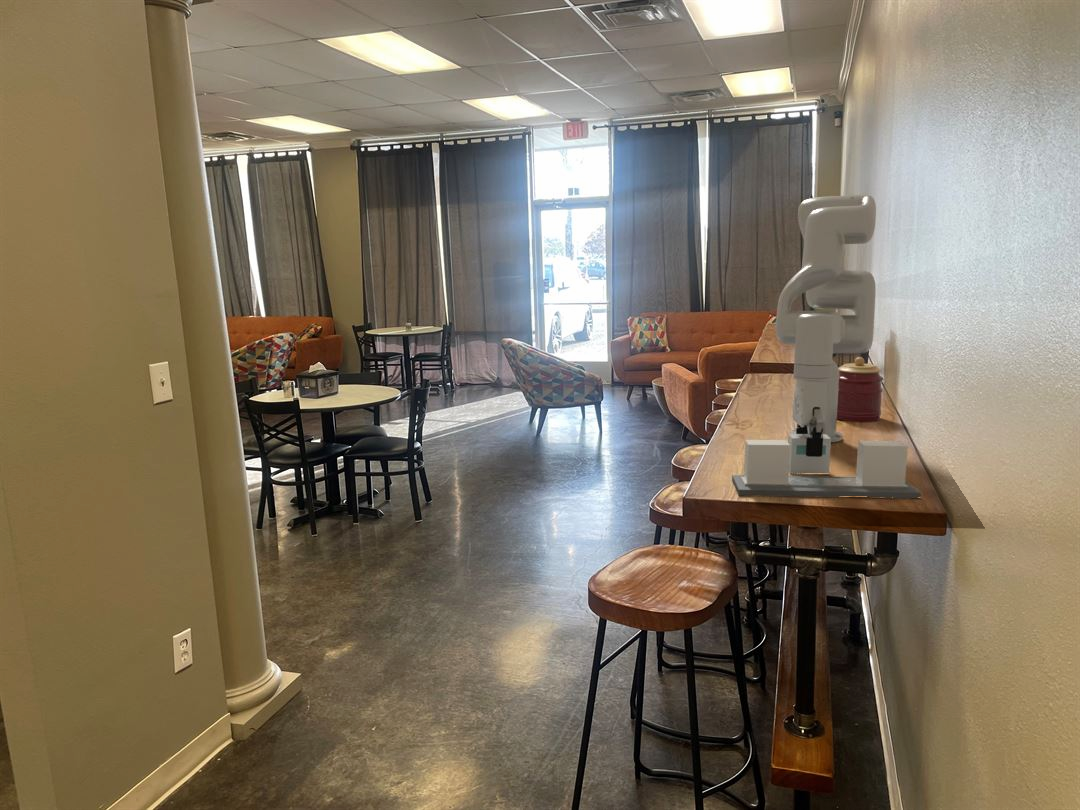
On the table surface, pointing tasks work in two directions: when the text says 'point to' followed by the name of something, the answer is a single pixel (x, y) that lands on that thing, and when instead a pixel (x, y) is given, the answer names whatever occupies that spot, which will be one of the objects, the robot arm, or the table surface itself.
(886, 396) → the table surface
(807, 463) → the block
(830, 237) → the robot arm
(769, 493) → the rail board
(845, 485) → the metal rail
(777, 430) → the table surface
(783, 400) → the table surface
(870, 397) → the canister
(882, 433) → the table surface
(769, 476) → the mounted modules
